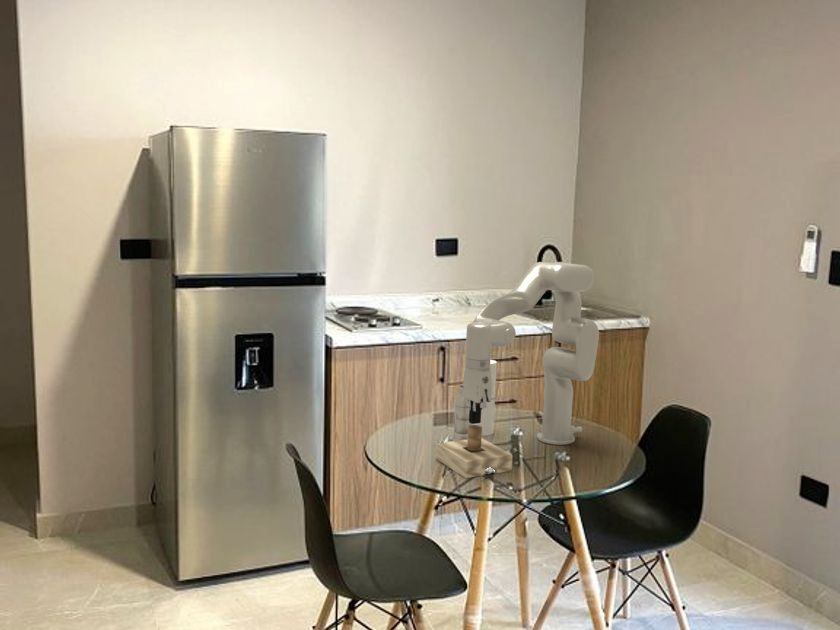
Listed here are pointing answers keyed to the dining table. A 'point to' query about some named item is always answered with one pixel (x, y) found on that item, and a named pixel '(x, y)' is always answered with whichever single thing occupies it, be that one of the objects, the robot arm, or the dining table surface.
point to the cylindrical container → (489, 406)
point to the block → (473, 458)
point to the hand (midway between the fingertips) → (474, 422)
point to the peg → (474, 438)
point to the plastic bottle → (461, 417)
